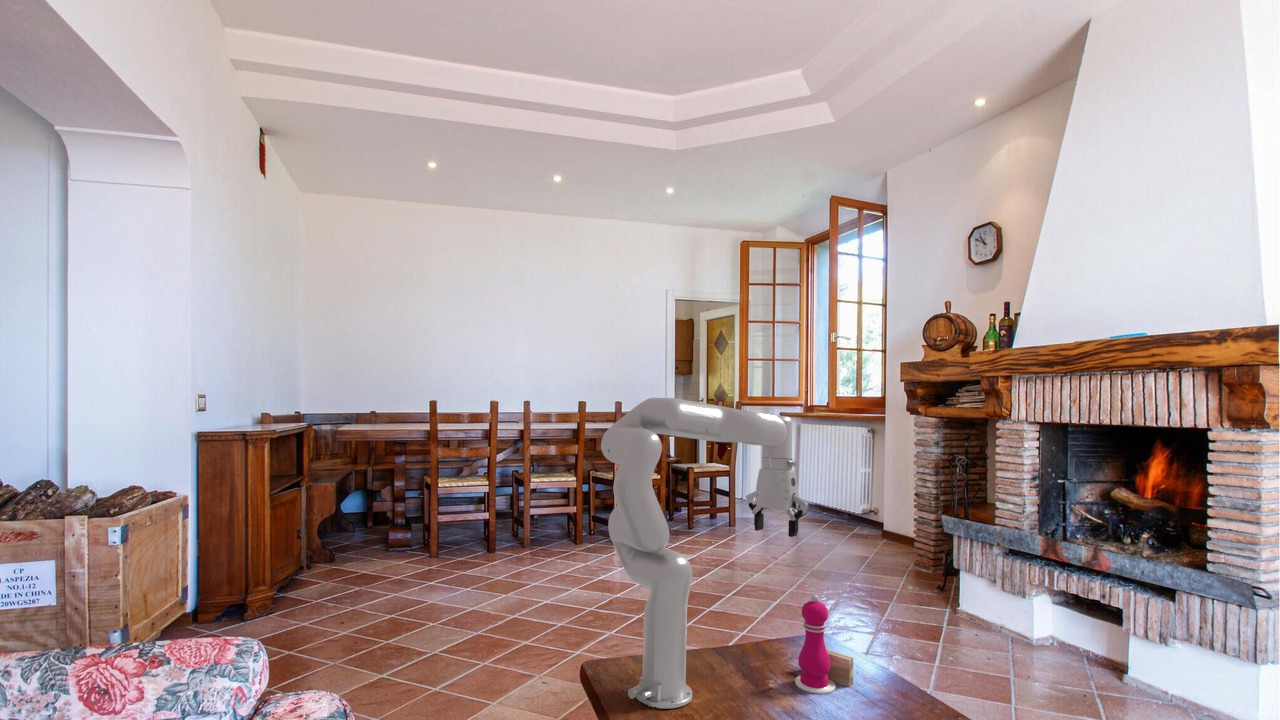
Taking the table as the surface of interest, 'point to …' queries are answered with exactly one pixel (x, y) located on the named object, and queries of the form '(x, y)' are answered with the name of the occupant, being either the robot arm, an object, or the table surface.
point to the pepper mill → (814, 645)
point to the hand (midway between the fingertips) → (775, 532)
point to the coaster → (825, 690)
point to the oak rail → (840, 668)
